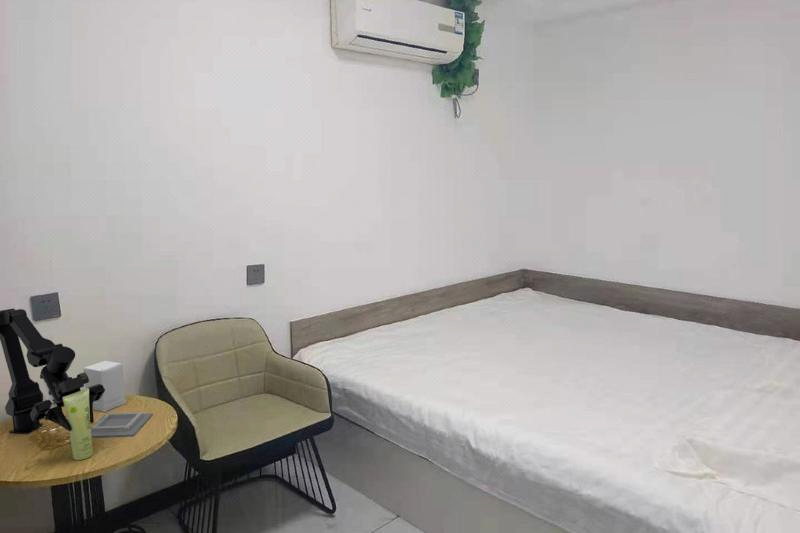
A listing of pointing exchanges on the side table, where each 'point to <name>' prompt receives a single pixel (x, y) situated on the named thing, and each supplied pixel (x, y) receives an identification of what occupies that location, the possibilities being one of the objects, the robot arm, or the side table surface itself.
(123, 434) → the mat
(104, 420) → the collar
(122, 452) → the side table surface
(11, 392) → the robot arm
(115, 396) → the supplement box
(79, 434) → the tube
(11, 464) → the side table surface
